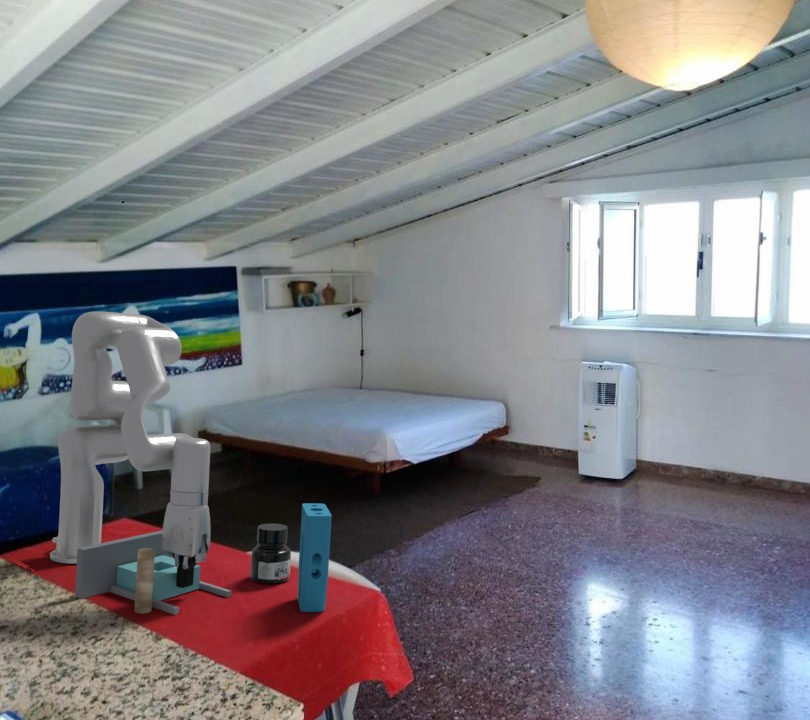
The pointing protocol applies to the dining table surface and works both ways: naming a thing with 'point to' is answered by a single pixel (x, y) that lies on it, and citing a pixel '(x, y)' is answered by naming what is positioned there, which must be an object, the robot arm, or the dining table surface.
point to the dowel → (144, 580)
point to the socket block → (157, 578)
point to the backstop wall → (104, 558)
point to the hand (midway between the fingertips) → (184, 585)
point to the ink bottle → (271, 555)
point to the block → (314, 557)
